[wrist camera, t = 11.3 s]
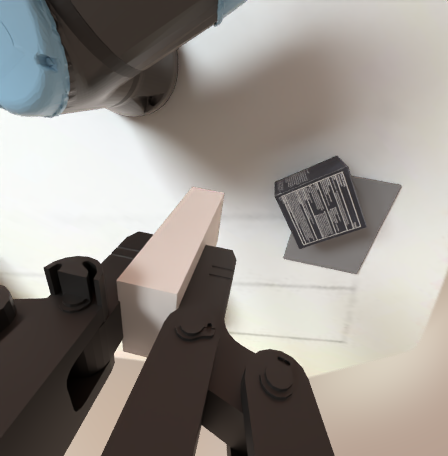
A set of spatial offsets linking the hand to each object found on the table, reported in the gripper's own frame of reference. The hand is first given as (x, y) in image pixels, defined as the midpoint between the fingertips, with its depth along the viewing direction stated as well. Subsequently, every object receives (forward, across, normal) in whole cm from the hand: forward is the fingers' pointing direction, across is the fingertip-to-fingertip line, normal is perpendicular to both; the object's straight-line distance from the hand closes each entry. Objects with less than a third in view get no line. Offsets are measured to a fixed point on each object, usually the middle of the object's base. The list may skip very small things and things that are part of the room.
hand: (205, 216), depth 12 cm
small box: (+29, +8, -12) cm, 32 cm away
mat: (+32, +18, -14) cm, 39 cm away
